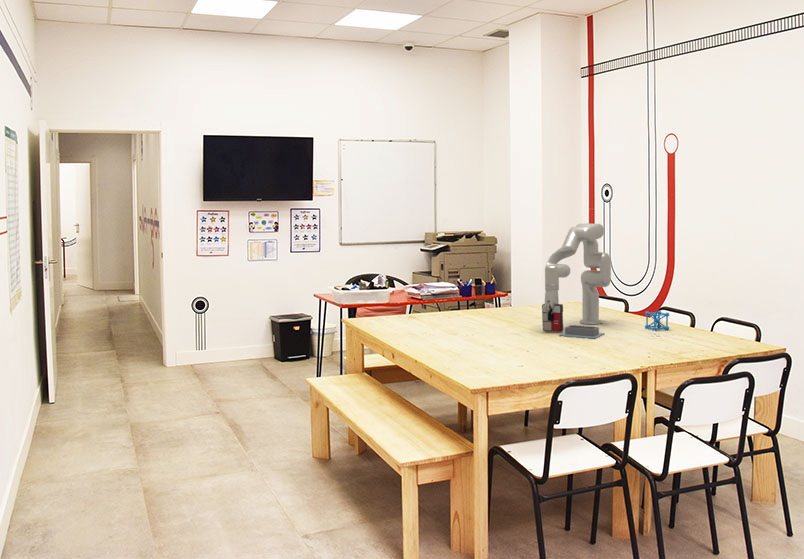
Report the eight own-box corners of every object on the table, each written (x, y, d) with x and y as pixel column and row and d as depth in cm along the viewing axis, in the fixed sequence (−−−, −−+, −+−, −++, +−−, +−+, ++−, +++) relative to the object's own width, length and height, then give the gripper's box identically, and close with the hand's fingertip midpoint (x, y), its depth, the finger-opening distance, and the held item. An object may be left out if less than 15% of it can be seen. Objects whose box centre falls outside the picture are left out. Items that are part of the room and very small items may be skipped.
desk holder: (569, 331, 410) (569, 323, 409) (604, 334, 399) (604, 326, 399) (559, 336, 396) (559, 328, 396) (595, 339, 386) (595, 330, 385)
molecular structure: (669, 330, 407) (670, 312, 406) (653, 331, 405) (654, 313, 404) (659, 327, 417) (660, 310, 416) (643, 328, 415) (644, 311, 414)
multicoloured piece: (542, 330, 411) (541, 304, 409) (544, 329, 414) (544, 303, 412) (561, 332, 405) (560, 305, 403) (563, 330, 409) (562, 304, 407)
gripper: (551, 285, 416) (551, 317, 418) (539, 289, 402) (540, 322, 404) (563, 286, 412) (563, 318, 414) (552, 289, 398) (553, 323, 400)
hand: (552, 319), depth 409 cm, fingers closed on multicoloured piece, 3 cm apart
